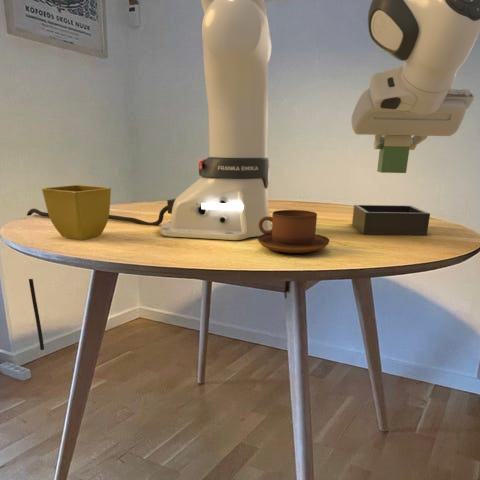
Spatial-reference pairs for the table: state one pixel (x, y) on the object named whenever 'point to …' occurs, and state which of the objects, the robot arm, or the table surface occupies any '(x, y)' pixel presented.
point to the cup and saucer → (292, 232)
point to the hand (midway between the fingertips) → (393, 147)
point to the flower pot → (78, 209)
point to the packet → (394, 154)
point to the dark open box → (390, 220)
